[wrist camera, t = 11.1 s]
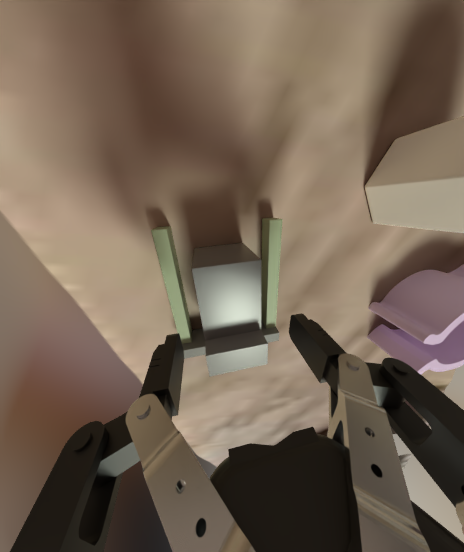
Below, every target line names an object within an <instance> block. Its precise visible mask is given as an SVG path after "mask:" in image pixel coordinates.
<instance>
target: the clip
mask: <svg viewBox="0 0 464 552" xmlns="http://www.w3.org/2000/svg"><path fill="white" fill-rule="evenodd" d="M369 310H371V311H373V312H374V313H376V314H378V315H379V316H381V317H382V318H384V319H386V320H387V321H389V322H390V323H392V324H394V325H395V326H397V327H398V328H400V329H397V330H392V329H390V328H388V327H387V326H385V325H384V324H381V325H379V326H378V327H376V328H375V329H374V330H373V331H372V332H371V333H370V334H369V335H368V336H367V337H368V338H369V339H370V340H371V341H372V342H374V343H375V344H376V345H377V346H379V347H380V348H381V349H382V350H384V351H385V352H386V353H387V354H389V355H390V356H391V357H392V358H395V359H398V360H401V361H403V362H405V363H406V364H408V365H409V366H411V367H412V368H413V369H414V370H416V371H417V372H418V373H419V374H420V375H421V374H422V373H424V372H425V371H426V370H429V369H430V370H432V371H436V372H442V371H448V370H451V369H454V368H457V367H459V366H462V365H464V264H463V265H461V266H460V267H458V268H457V269H455V270H454V271H452V272H449V273H445V272H441V271H438V270H432V269H431V270H423V271H420V272H417V273H414V274H412V275H410V276H408V277H407V278H405V279H404V280H402V281H401V282H400V283H398V284H397V285H396V286H395V287H394V288H393V289H392V290H391V291H390V292H389V293H388V294H387V295H386V296H385V297H384V299H383V300H382V301H381V302H379V303H378V302H372V303H371V304H370V306H369Z"/></svg>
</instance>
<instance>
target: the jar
mask: <svg viewBox="0 0 464 552" xmlns="http://www.w3.org/2000/svg"><path fill="white" fill-rule="evenodd" d="M365 191H366V196H367V200H368V204H369V209H370V213H371V218H372V222H373V223H374V224H383V225H392V226H401V227H410V228H419V229H429V230H438V231H447V232H456V233H464V116H462V117H459V118H456V119H453V120H450V121H447V122H444V123H441V124H438V125H435V126H432V127H429V128H426V129H423V130H420V131H417V132H414V133H411V134H408V135H405V136H402V137H399V138H397V139H395V140H394V142H393V143H392V145H391V146H390V148H389V149H388V151H387V153H386V154H385V156H384V157H383V159H382V160H381V162H380V163H379V165H378V166H377V168H376V170H375V171H374V173H373V174H372V176H371V177H370V179H369V180H368V182H367V183H366V185H365Z"/></svg>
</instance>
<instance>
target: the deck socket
mask: <svg viewBox="0 0 464 552" xmlns="http://www.w3.org/2000/svg"><path fill="white" fill-rule="evenodd" d="M151 232H152V235H153V239H154V243H155V247H156V251H157V255H158V259H159V262H160V266H161V270H162V274H163V278H164V282H165V286H166V290H167V293H168V297H169V301H170V305H171V309H172V313H173V317H174V320H175V324H176V328H177V332H178V333H179V334H180V338H181V342H182V346H183V350H184V359H185V358H190V357H195V356H200V355H206V351H205V337H204V332H203V328H201V329H196V330H192V327H191V322H190V317H189V313H188V308H187V303H186V298H185V293H184V289H183V284H182V279H181V274H180V270H179V265H178V260H177V255H176V251H175V246H174V241H173V236H172V231H171V227H170V226H167V227H157V228H155V229H153V230H151ZM281 233H282V219H278V218H263V219H262V271H261V331H262V333H263V335H264V337H265V339H266V341H267V343H268V342H273V341H278V340H279V332H278V330H277V328H276V313H277V297H278V281H279V265H280V249H281Z"/></svg>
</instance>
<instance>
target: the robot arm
mask: <svg viewBox="0 0 464 552" xmlns="http://www.w3.org/2000/svg"><path fill="white" fill-rule="evenodd" d="M289 334H290V338H291V340H292V341H293V343H294V344H295V346H296V347H297V349H298V350H299V352H300V353H301V355H302V356H303V358H304V359H305V361H306V363H307V364H308V366H309V367H310V369H311V370H312V372H313V373H314V375H315V376H316V378H317V379H318V381H319V382H320V383H323V382H327V383H328V384H329V427H328V435H327V437H326V436H323V435H319V434H316V432H315V430H314V428H313V427H310V428H307V429H303V430H299V431H295V432H293V433H291V434H290V435H289V436H287V437H286V438H285V439H283V440H282V441H281V442H279V443H278V444H276V445H274V446H271V445H261V444H247V445H243V446H239V447H235V448H232V449H228V450H229V457H228V458H227V459H225V460H224V461H223V462H222V463H221V464H220V465H219V466H218V467H217V468H216V469H215V471H214V472H213V474H212V475H211V477H210V479H209V478H208V476H207V475H206V473H205V472H204V470H203V468H202V467H201V465H200V463H199V462H198V460H197V458H196V457H195V455H194V454H193V452H192V450H191V449H190V447H189V445H188V444H187V442H186V441H185V439H184V437H183V436H182V434H181V433H180V432H179V431H178V430H177V429H176V427H175V425H174V424H173V422H172V416H176V415H178V410H179V401H180V391H181V382H182V373H183V363H184V350H183V346H182V342H181V338H180V334H179V333H178V334H172V335H167V337H166V340H165V344H162V345H159V346H158V347H157V348H156V350H155V351H154V352H153V356H152V359H151V362H150V365H149V368H148V371H147V375H146V378H145V381H144V384H143V387H142V390H141V394H140V396H139V398H138V399H137V400H136V401H135V402H134V403H133V404H132V405H131V407H130V408H129V410H128V411H127V412H126V413H124V414H123V415H122V416H119V417H118V418H116V419H114V420H112V421H110V422H108V423H106V424H105V425H103V424H102V423H101V422H99V421H94V422H90V423H88V424H86V425H84V426H83V427H81V428H80V429H79V430H78V431H76V432H75V433H74V434H73V435H72V436H71V438H70V439H69V440H68V441H67V443H66V444H65V446H64V448H63V450H62V452H61V453H60V456H59V457H58V459H57V461H56V463H55V465H54V467H53V469H52V471H51V473H50V475H49V477H48V479H47V481H46V483H45V485H44V487H43V488H42V490H41V493H40V494H39V497H38V498H37V500H36V502H35V504H34V506H33V508H32V510H31V512H30V514H29V516H28V518H27V520H26V522H25V524H24V525H23V527H22V529H21V531H20V533H19V535H18V537H17V539H16V541H15V543H14V545H13V547H12V549H11V551H10V552H103V551H104V547H105V543H106V539H107V534H108V531H109V527H110V523H111V518H112V514H113V511H114V506H115V502H116V498H117V494H118V490H119V486H120V482H121V478H122V474H123V472H124V471H125V470H127V469H128V468H130V467H131V466H133V465H134V464H136V463H137V462H139V461H141V463H142V466H143V473H144V477H145V479H146V482H147V485H148V488H149V490H150V493H151V495H152V498H153V501H154V504H155V506H156V509H157V511H158V514H159V517H160V519H161V522H162V525H163V527H164V530H165V533H166V535H167V538H168V541H169V543H170V546H171V548H172V551H173V552H464V543H463V542H462V541H461V540H459V539H458V538H457V537H455V536H454V535H453V534H452V533H451V532H449V531H448V530H447V529H446V528H444V527H443V526H442V525H441V524H440V523H438V522H437V521H436V520H434V519H433V518H432V517H431V516H430V515H428V514H427V513H426V512H425V511H423V510H422V509H421V508H420V507H418V506H417V505H416V504H415V503H413V502H412V501H411V500H410V497H409V493H408V490H407V486H406V482H405V479H404V475H403V471H402V468H401V464H400V461H399V457H398V453H397V450H396V446H395V442H394V439H393V435H392V432H391V428H390V426H391V427H392V428H393V430H394V431H395V432H396V433H397V434H398V436H399V437H400V438H401V440H402V441H403V442H404V443H405V445H406V446H407V447H408V448H409V450H410V451H411V452H412V453H413V454H414V456H415V457H416V458H417V460H418V461H419V462H420V463H421V465H422V466H423V467H424V469H425V470H426V471H427V472H428V474H429V475H430V476H431V477H432V479H433V480H434V481H435V482H436V484H437V485H438V486H439V487H440V489H441V490H442V491H443V492H444V494H445V495H446V496H447V497H448V499H449V500H450V501H451V502H452V504H453V505H454V506H455V508H456V512H457V515H458V518H459V520H460V522H461V524H462V526H463V527H462V531H463V533H464V410H463V409H461V408H460V407H459V406H458V405H457V404H455V403H454V402H453V401H452V400H451V399H449V398H448V397H447V396H446V395H445V394H443V393H442V392H441V391H440V390H439V389H437V388H436V387H435V386H434V385H433V384H431V383H430V382H429V381H428V380H427V379H425V378H424V377H423V376H422V375H420V374H419V373H418V372H417V371H416V370H414V369H413V368H412V367H411V366H409V365H408V364H406V363H405V362H403V361H401V360H398V359H395V358H385V359H384V360H383V361H382V363H381V364H376V363H366V362H364V361H363V360H362V359H360V358H359V357H357V356H355V355H352V354H347V353H346V352H345V351H344V350H343V349H342V348H341V347H340V346H339V345H338V344H337V343H336V342H335V341H334V340H333V339H332V338H331V337H330V336H329V335H328V334H327V332H326V331H325V330H323V328H322V327H321V326H320V325H319V324H318V323H316V322H314V321H313V320H311V319H310V320H308V319H307V318H306V316H305V315H304V314H296V315H292V316H291V320H290V328H289ZM405 400H407V401H408V402H409V403H410V404H411V405H412V406H413V407H414V408H415V409H416V410H417V411H418V412H419V413H420V414H421V415H422V416H423V417H424V419H425V420H426V421H427V422H428V423H429V425H430V427H431V429H432V430H431V429H430V428H429V427H428V426H427V425H426V424H425V423H424V422H423V421H422V419H421V418H420V417H419V416H418V415H417V414H416V413H415V412H414V411H413V410H412V409H411V408H410V407H409V406H408V405H407V404H406V403H405Z"/></svg>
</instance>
